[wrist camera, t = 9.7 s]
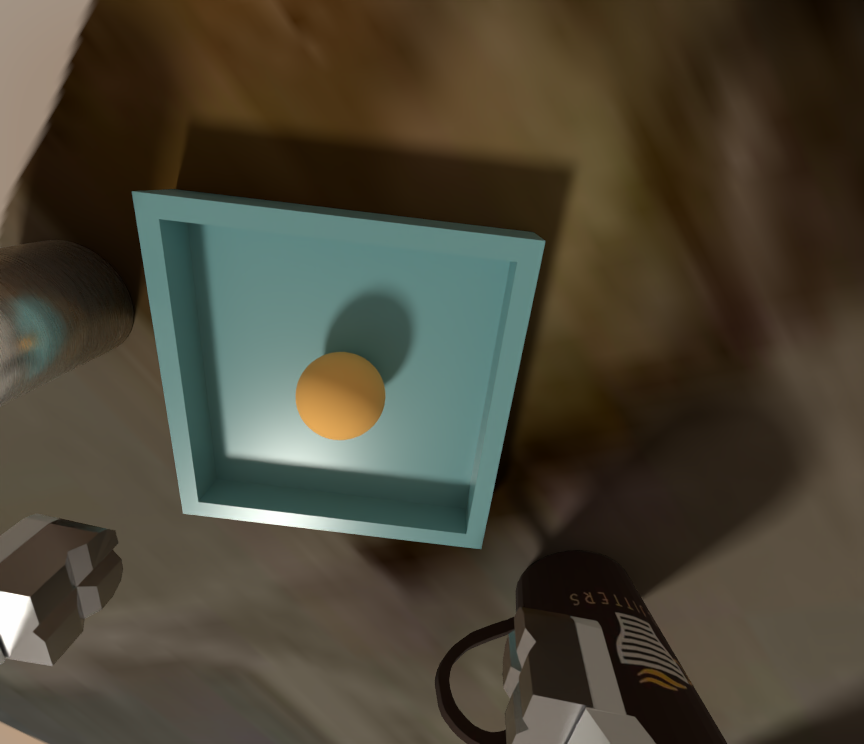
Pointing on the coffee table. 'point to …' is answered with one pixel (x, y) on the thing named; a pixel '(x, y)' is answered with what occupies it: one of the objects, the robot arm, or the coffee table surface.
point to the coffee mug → (626, 642)
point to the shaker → (56, 312)
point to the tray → (326, 333)
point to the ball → (340, 396)
